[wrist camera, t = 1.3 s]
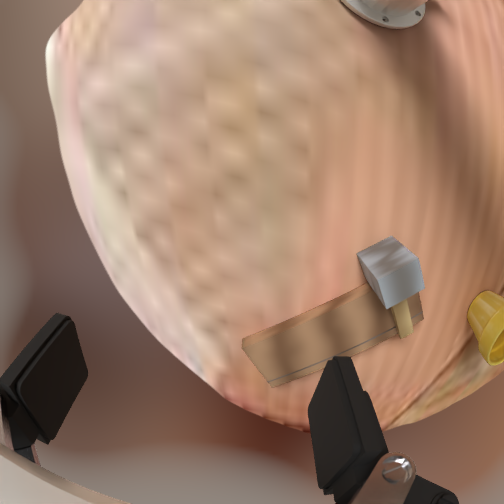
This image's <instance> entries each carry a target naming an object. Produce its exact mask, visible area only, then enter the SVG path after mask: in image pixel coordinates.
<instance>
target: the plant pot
mask: <svg viewBox="0 0 504 504" xmlns="http://www.w3.org/2000/svg"><path fill="white" fill-rule="evenodd" d="M467 319H468V322H469V324H470V326H471V328H472V330H473V332H474V334H475V336H476V338H477V340H478V342H479V344H478V348H479V351H480V353H481V354H482V356H483V357H484V359H485V360H486V361H487V363H488V364H489V365H492V366H494V365H498V364H500V363H502V362H504V297H502V296H500V295H498V294H496V293H494V292H492V291H489V290H487V291H484V292H482V293H480V294H479V295H478V296H477V297H476V298H475V299H474V300H473V302H472V303H471V305H470V307H469V310H468V314H467Z"/></svg>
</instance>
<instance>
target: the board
mask: <svg viewBox="0 0 504 504" xmlns="http://www.w3.org/2000/svg"><path fill="white" fill-rule="evenodd" d="M407 303H408V308H409V312H410V317H411V321H412V326H413V325H415V324H416V323H418V322H420V321H422V320H423V319H424V317H423V311H422V306H421V301H420V296H419V292H417V293H416V294H414V295H412V296H410V297H409V298H407ZM396 334H398V332H397V328H396V324H395V321H394V317H393V313H392V310H391V307H390V308H388V309H386V308H385V306H384V305H383V303H382V302H381V300H380V299H379V297H378V296H377V294H376V293H375V291H374V290H373V289H372V287H371V286H370V284H369V283H366V284H364V285H362V286H360V287H358V288H356V289H354V290H352V291H350V292H348V293H346V294H344V295H342V296H340V297H337V298H335V299H333V300H331V301H329V302H327V303H325V304H323V305H320V306H318V307H316V308H314V309H312V310H309V311H307V312H305V313H303V314H300V315H298V316H296V317H294V318H291V319H289V320H287V321H284V322H282V323H280V324H277V325H275V326H273V327H270V328H268V329H265V330H263V331H261V332H258V333H256V334H253V335H251V336H248V337H246V338H243V339H242V349H243V351H244V352H245V353H246V355H247V356H248V357H249V359H250V360H251V361H252V363H253V364H254V365H255V366H256V368H257V369H258V370H259V372H260V373H261V374H262V376H263V377H264V378H265V379H266V381H267V382H268V383H269V384H270V386H271V387H275V386H278V385H281V384H284V383H287V382H290V381H292V380H295V379H298V378H300V377H303V376H306V375H308V374H311V373H313V372H316V371H318V370H321V369H323V368H325V366H326V363H327V361H328V360H332V358H333V357H334V356H349V357H351V356H353V355H356V354H358V353H360V352H362V351H364V350H366V349H368V348H370V347H373V346H375V345H377V344H379V343H381V342H383V341H385V340H387V339H389V338H390V337H392V336H394V335H396Z"/></svg>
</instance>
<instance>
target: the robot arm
mask: <svg viewBox="0 0 504 504" xmlns="http://www.w3.org/2000/svg"><path fill="white" fill-rule="evenodd" d="M341 1H342V2H343V3H344V4H345V5H346V6H347V7H348V8H349V9H351V10H352V11H353V12H354V13H356V14H357V15H359V16H360V17H362V18H364V19H366V20H367V21H369V22H371V23H374V24H376V25H379V26H382V27H386V28H391V29H406V28H409V27H412V26H413V25H415V24H417V23H418V22H419V21H420V20H421V19H422V18H423V16H424V14H425V2H427V1H428V0H341ZM87 377H88V370H87V367H86V363H85V360H84V357H83V353H82V350H81V346H80V343H79V339H78V335H77V332H76V328H75V324H74V322H73V321H72V320H71V318H70V317H69V316H66V315H62V314H59V313H56V314H55V315H54V316H53V317H52V318H51V319H50V320H49V321H48V322H47V323H46V324H45V325H44V326H43V327H42V329H41V330H40V331H39V332H38V333H37V334H36V335H35V336H34V338H33V339H32V340H31V341H30V342H29V343H28V345H27V346H26V347H25V348H24V349H23V350H22V352H21V353H20V354H19V355H18V356H17V358H16V359H15V360H14V362H13V363H12V364H11V365H10V366H9V368H8V369H7V370H6V371H5V373H4V374H3V375H2V376H1V378H0V504H131V503H128V502H124V501H121V500H118V499H115V498H112V497H109V496H106V495H103V494H101V493H98V492H95V491H92V490H90V489H87V488H85V487H83V486H80V485H78V484H76V483H73V482H71V481H69V480H66V479H65V478H62V477H60V476H58V475H56V474H54V473H52V472H50V471H48V470H46V469H44V468H43V467H41V465H40V462H39V458H38V455H37V451H36V448H35V443H34V442H35V440H36V439H38V440H40V441H42V442H44V443H46V444H49V442H50V440H53V439H54V438H55V437H56V435H57V433H58V431H59V429H60V427H61V425H62V423H63V421H64V419H65V417H66V415H67V414H68V412H69V410H70V408H71V406H72V404H73V402H74V401H75V399H76V397H77V395H78V393H79V392H80V390H81V388H82V386H83V385H84V383H85V381H86V379H87ZM308 418H309V424H310V431H311V438H312V444H313V451H314V459H315V466H316V473H317V481H318V486H319V488H320V489H323V492H324V495H329V494H334V500H335V502H336V503H335V504H459V502H458V499H457V497H456V496H455V494H454V493H452V492H451V491H449V490H447V489H445V488H443V487H440V486H438V485H436V484H434V483H432V482H430V481H428V480H426V479H424V478H422V477H420V476H418V475H416V466H415V464H414V461H413V460H412V459H411V458H410V457H409V456H407V455H406V454H403V453H400V452H391V453H389V452H388V448H387V445H386V443H385V439H384V436H383V433H382V430H381V427H380V424H379V422H378V419H377V416H376V413H375V410H374V407H373V404H372V402H371V399H370V396H369V394H368V393H367V392H366V391H363V389H362V386H361V384H360V381H359V378H358V375H357V373H356V370H355V367H354V364H353V362H352V359H351V357H349V356H334V357H333V358H332V360H328V361H327V363H326V366H325V368H324V371H323V373H322V376H321V378H320V381H319V383H318V385H317V388H316V390H315V392H314V395H313V397H312V399H311V402H310V404H309V407H308Z"/></svg>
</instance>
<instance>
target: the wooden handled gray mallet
mask: <svg viewBox="0 0 504 504" xmlns="http://www.w3.org/2000/svg"><path fill="white" fill-rule="evenodd" d="M357 256H358V259H359V261H360V264H361V267H362V269H363V272H364V275H365V278H366V280H367V281H368V283H369V284H370V286H371V287H372V289H373V290H374V291H375V293H376V294H377V296H378V297H379V299H380V300H381V302H382V303H383V305H384V306H385V308H386V309H388V308H390V307H391V310H392V313H393V317H394V321H395V324H396V328H397V332H398V335H399V337H400V338H401V339H403V338H404V337H406V336H408V335H410V334H412V333H414V331H413V326H412V321H411V317H410V312H409V308H408V303H407V298H409V297H410V296H412V295H414V294H416V293H417V292H419V291H421V290H423V289H424V288H425V286H424V281H423V276H422V271H421V267H420V262H419V258H418V257H417V256H415V255H414V254H413V253H412V252H411V251H410V250H408V249H407V248H406V247H405V246H404V245H402V244H401V243H400V242H399V241H397V240H396V239H395V238H394V237H393V236H390V237H388V238H386V239H384V240H382V241H380V242H378V243H376V244H374V245H372V246H370V247H368V248H366V249H364V250H362V251H360V252H359V253H357Z"/></svg>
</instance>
